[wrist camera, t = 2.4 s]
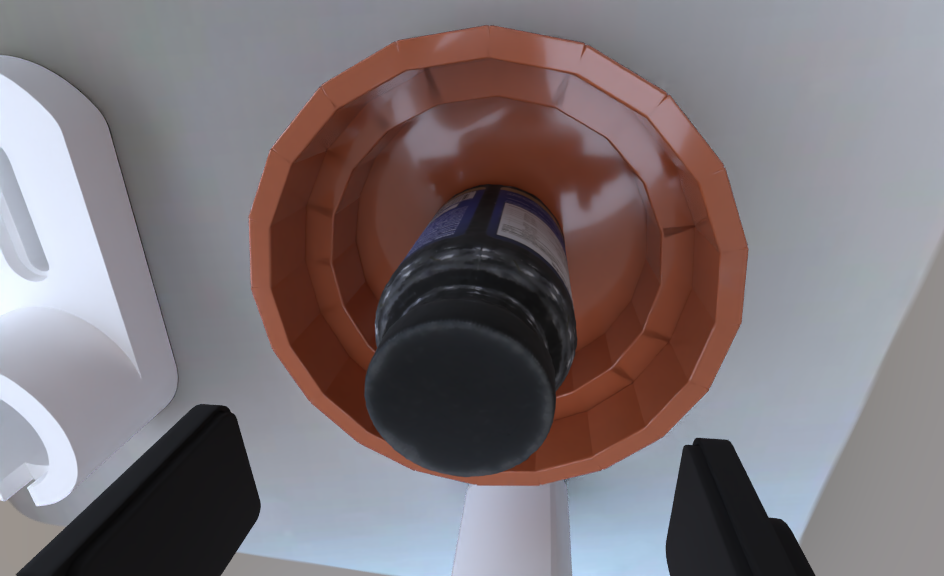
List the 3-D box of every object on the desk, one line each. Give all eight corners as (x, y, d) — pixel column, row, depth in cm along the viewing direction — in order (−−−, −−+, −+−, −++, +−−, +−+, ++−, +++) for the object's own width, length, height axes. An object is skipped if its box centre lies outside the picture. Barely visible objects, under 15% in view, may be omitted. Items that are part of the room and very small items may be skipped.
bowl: (276, 299, 25) (200, 365, 19) (409, -51, 18) (348, -102, 12) (555, 444, 26) (558, 543, 21) (783, 176, 19) (877, 220, 14)
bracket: (192, 423, 29) (101, 516, 23) (63, 408, 30) (-56, 494, 24) (88, 56, 21) (-97, 53, 15) (-86, 52, 22) (-327, 48, 16)
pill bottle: (436, 311, 23) (356, 494, 13) (419, 184, 21) (305, 293, 11) (567, 308, 22) (585, 505, 12) (565, 175, 20) (587, 287, 10)
